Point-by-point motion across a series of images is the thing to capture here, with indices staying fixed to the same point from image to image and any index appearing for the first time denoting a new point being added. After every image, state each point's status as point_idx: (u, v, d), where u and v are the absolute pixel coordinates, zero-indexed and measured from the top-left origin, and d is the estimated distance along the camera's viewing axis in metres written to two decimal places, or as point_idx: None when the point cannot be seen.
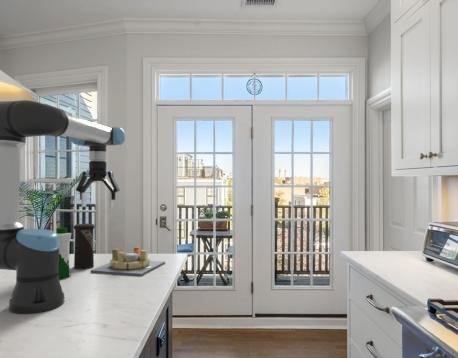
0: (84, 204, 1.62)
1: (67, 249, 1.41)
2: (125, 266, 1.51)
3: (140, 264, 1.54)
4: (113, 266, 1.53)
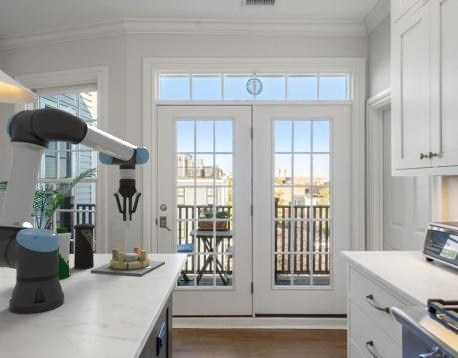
0: None
1: (67, 249, 1.41)
2: (125, 266, 1.51)
3: (140, 264, 1.54)
4: (113, 266, 1.53)
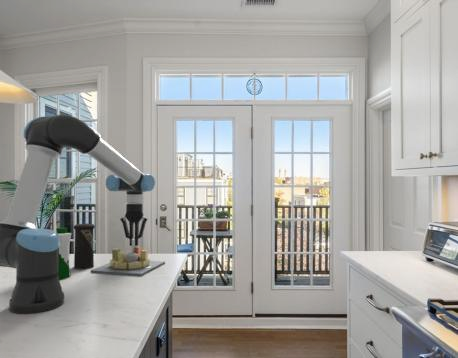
0: (133, 250, 1.67)
1: (67, 249, 1.41)
2: (125, 266, 1.51)
3: (140, 264, 1.54)
4: (113, 266, 1.53)
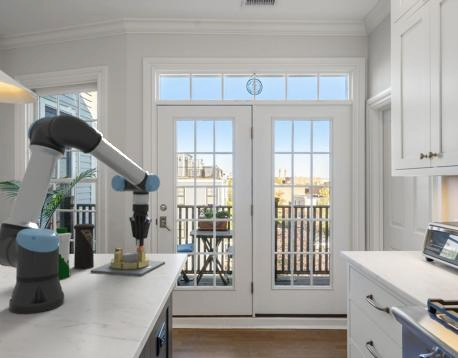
0: None
1: (67, 249, 1.41)
2: (120, 266, 1.51)
3: (135, 265, 1.52)
4: (111, 265, 1.55)
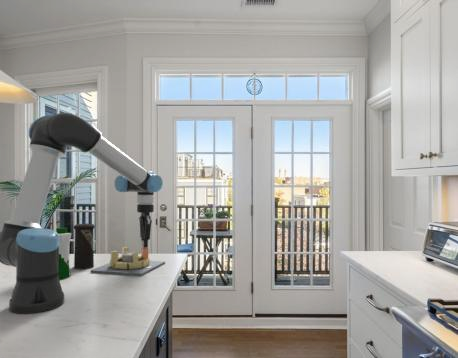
0: None
1: (67, 249, 1.41)
2: (112, 265, 1.53)
3: (125, 265, 1.51)
4: None
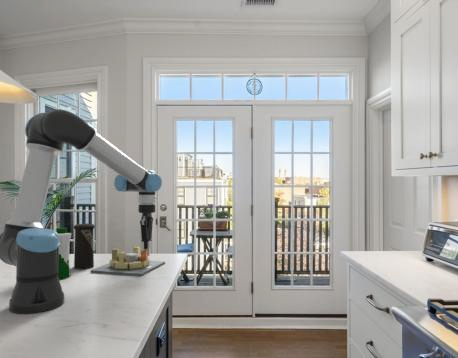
0: None
1: (67, 249, 1.41)
2: None
3: (113, 264, 1.53)
4: None
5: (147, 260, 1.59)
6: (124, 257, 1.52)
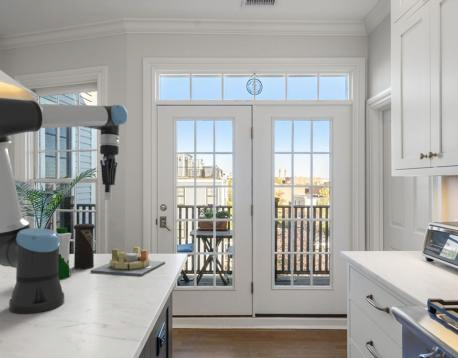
0: None
1: (67, 249, 1.41)
2: None
3: (113, 264, 1.53)
4: None
5: (147, 260, 1.59)
6: (124, 257, 1.52)
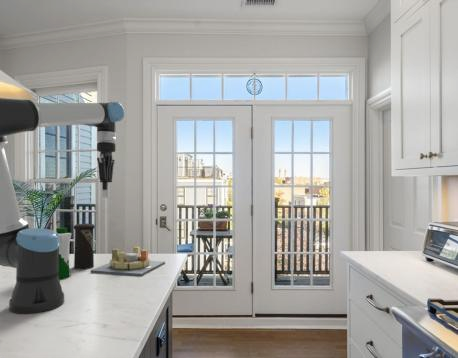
0: None
1: (67, 249, 1.41)
2: None
3: (113, 264, 1.53)
4: None
5: (147, 260, 1.59)
6: (124, 257, 1.52)
